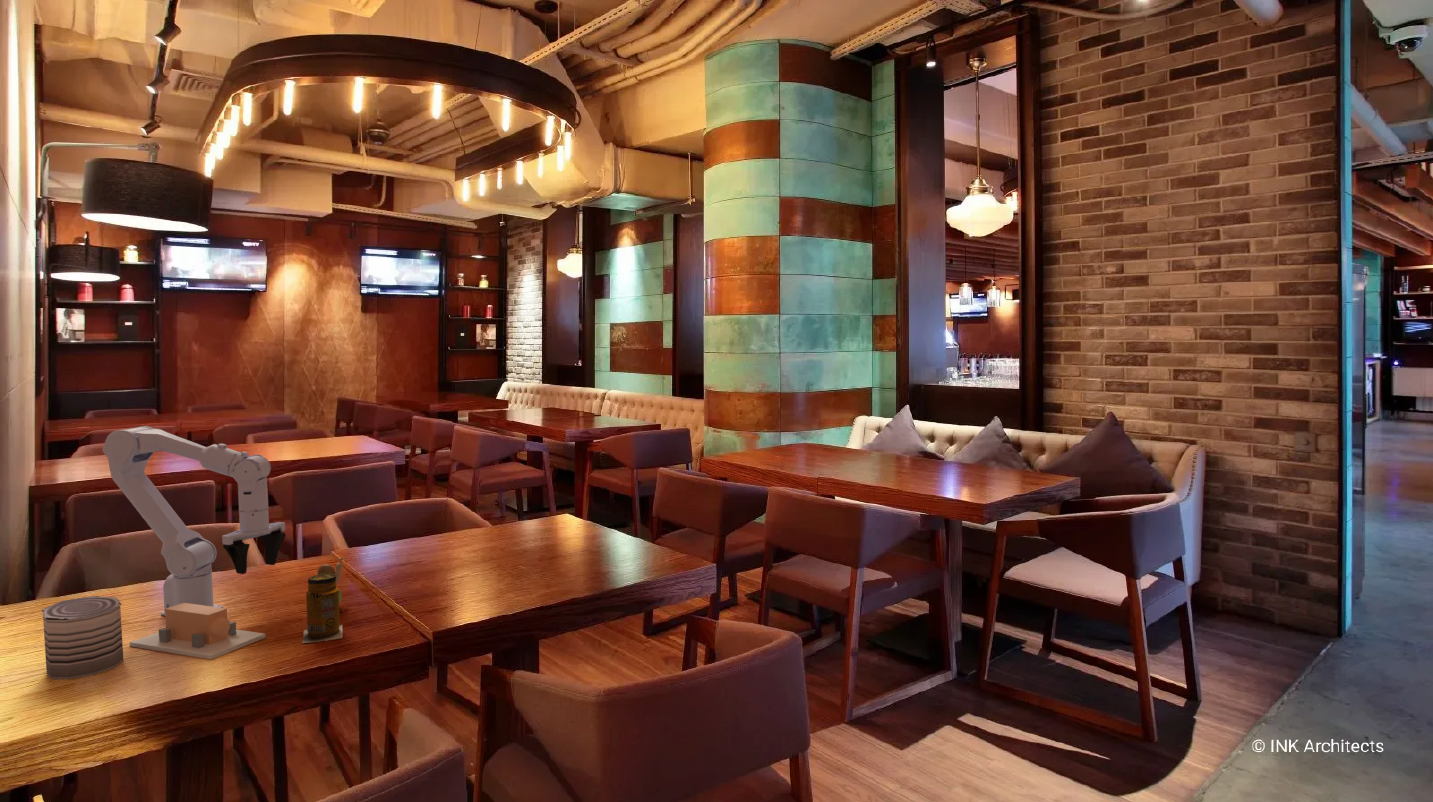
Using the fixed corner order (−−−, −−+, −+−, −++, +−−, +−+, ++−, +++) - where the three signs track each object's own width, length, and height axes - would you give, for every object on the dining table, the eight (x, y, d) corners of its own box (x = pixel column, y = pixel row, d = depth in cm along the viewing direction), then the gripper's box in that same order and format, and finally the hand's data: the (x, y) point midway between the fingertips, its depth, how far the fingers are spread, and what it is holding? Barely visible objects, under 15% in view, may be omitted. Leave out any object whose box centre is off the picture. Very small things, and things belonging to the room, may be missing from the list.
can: (114, 650, 154) (111, 590, 153) (131, 665, 147) (128, 602, 146) (39, 669, 145) (35, 605, 145) (53, 685, 138) (49, 619, 137)
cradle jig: (129, 645, 157) (128, 629, 156) (187, 625, 168) (186, 610, 168) (210, 659, 149) (210, 642, 149) (265, 637, 161) (264, 621, 161)
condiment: (342, 625, 168) (340, 570, 167) (342, 638, 160) (340, 580, 159) (303, 631, 165) (301, 574, 164) (302, 644, 157) (299, 585, 156)
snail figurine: (335, 614, 175) (333, 561, 174) (309, 612, 176) (307, 560, 175) (351, 606, 180) (349, 555, 179) (326, 604, 181) (324, 553, 181)
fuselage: (166, 637, 159) (164, 608, 158) (185, 630, 163) (183, 602, 162) (217, 645, 154) (215, 615, 154) (235, 638, 158) (234, 609, 158)
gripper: (238, 517, 169) (241, 579, 170) (294, 504, 183) (296, 561, 184) (214, 515, 171) (216, 576, 172) (271, 502, 185) (273, 559, 186)
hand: (256, 568), depth 178 cm, fingers open, 7 cm apart
